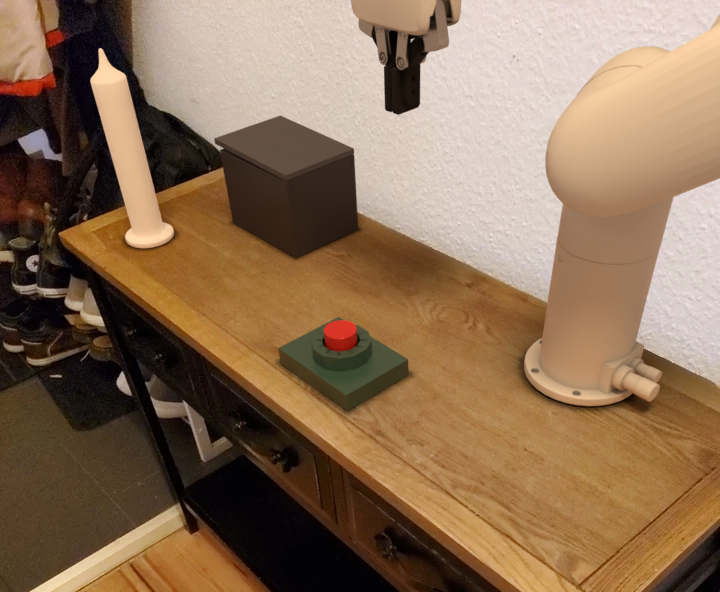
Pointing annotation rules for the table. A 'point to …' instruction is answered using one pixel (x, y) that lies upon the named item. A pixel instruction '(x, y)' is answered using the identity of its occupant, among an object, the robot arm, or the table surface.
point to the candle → (128, 157)
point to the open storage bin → (292, 203)
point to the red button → (340, 335)
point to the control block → (344, 366)
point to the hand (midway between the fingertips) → (402, 108)
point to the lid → (284, 147)
